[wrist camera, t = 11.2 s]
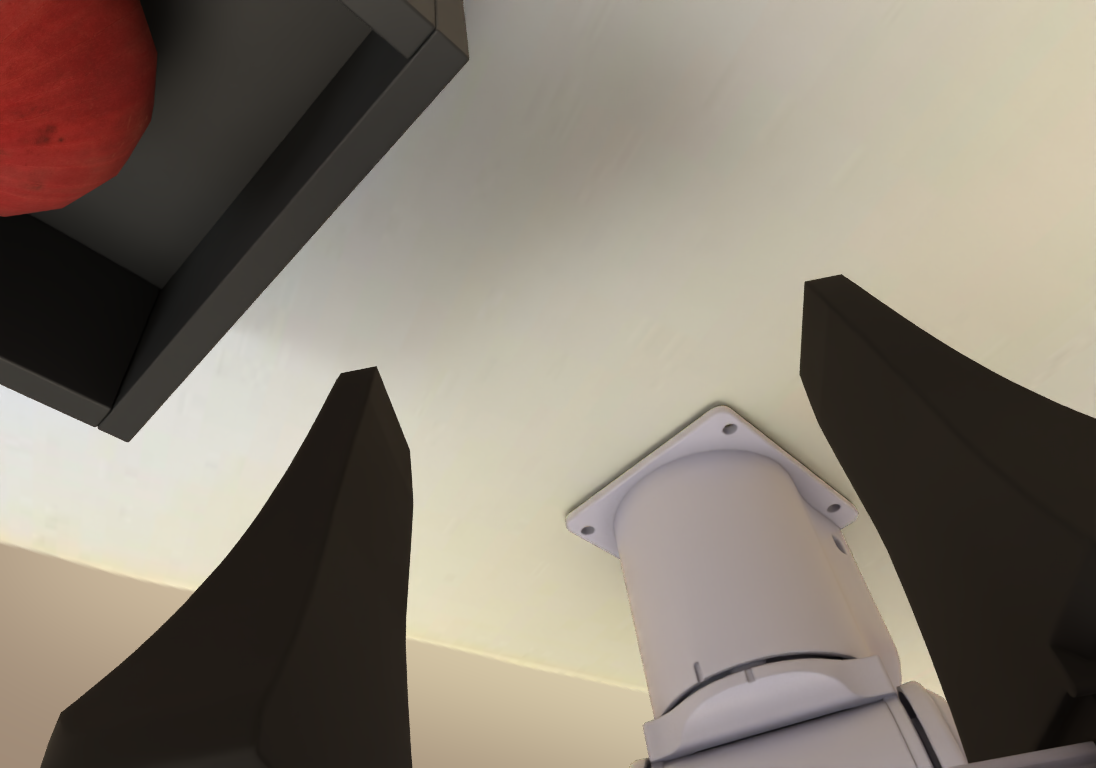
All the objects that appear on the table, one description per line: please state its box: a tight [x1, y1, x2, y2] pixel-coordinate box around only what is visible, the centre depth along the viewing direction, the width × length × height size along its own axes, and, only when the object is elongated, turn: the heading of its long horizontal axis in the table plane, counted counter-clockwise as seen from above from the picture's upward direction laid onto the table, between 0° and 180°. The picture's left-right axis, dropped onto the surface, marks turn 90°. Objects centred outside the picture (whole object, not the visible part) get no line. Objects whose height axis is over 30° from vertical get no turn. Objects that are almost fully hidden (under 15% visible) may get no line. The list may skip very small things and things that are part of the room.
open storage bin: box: [0, 0, 469, 442], centre depth 17 cm, size 13×13×6 cm
